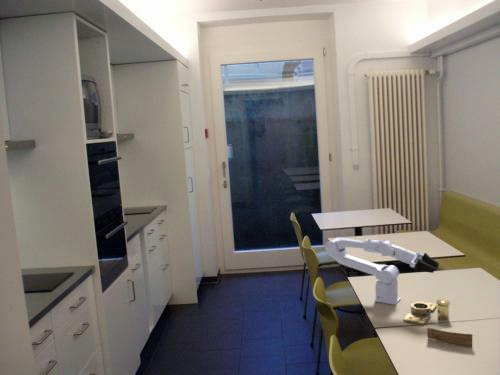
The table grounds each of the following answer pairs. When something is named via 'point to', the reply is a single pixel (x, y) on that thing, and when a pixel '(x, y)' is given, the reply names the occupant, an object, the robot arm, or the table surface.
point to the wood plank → (450, 337)
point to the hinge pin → (443, 309)
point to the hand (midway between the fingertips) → (436, 268)
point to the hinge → (420, 312)
